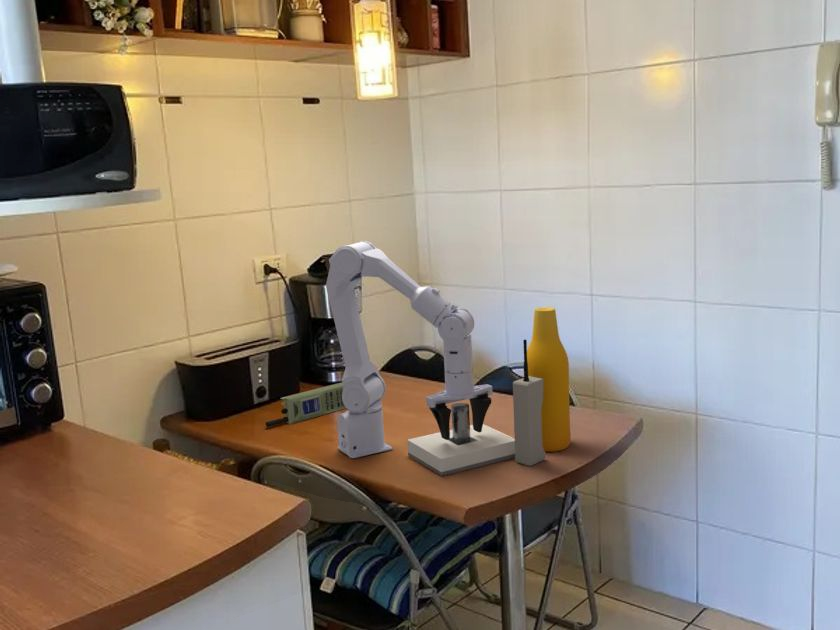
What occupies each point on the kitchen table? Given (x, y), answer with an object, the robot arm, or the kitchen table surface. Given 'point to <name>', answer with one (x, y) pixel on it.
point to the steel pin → (460, 423)
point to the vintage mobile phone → (528, 417)
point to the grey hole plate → (461, 450)
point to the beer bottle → (551, 379)
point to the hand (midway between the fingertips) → (461, 434)
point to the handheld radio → (311, 404)
